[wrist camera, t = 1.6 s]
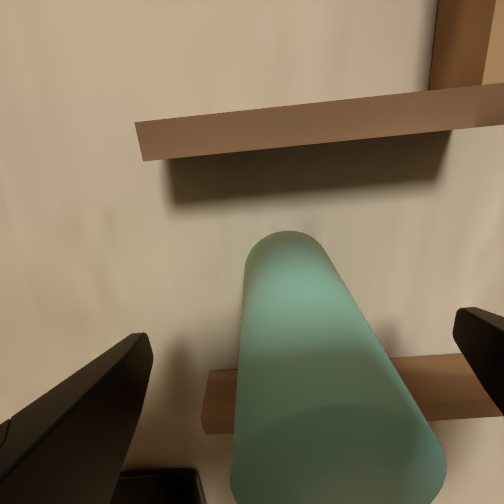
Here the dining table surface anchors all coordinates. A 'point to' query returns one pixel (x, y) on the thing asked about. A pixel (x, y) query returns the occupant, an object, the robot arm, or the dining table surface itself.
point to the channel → (362, 127)
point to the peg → (321, 393)
